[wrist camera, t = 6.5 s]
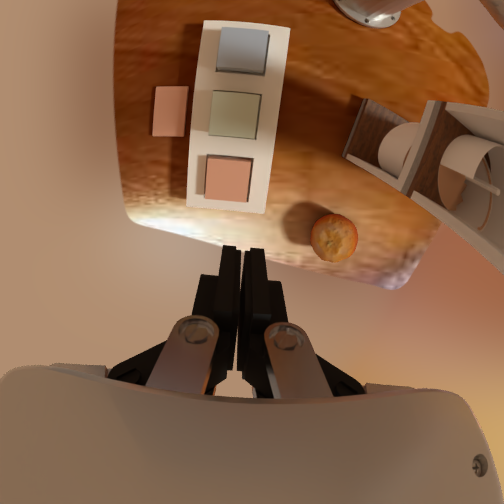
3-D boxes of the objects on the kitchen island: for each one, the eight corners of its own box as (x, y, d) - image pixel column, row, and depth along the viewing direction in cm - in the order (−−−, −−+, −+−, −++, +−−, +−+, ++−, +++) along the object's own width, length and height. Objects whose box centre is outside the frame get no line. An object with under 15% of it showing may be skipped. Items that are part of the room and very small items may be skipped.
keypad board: (207, 26, 30) (204, 20, 27) (287, 33, 31) (290, 28, 28) (190, 199, 44) (186, 206, 41) (263, 206, 45) (264, 213, 42)
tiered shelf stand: (416, 129, 38) (591, 204, 7) (395, 181, 43) (546, 306, 12) (363, 98, 36) (567, 130, 5) (341, 156, 41) (511, 283, 10)
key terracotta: (210, 154, 39) (207, 158, 36) (250, 158, 39) (251, 162, 37) (207, 192, 42) (204, 198, 39) (246, 196, 42) (246, 202, 39)
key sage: (215, 92, 33) (213, 91, 30) (258, 96, 34) (260, 95, 31) (211, 133, 36) (208, 134, 33) (253, 136, 36) (254, 138, 34)
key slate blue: (223, 33, 28) (222, 26, 26) (267, 36, 29) (268, 30, 26) (218, 69, 31) (216, 66, 29) (262, 73, 32) (263, 70, 29)
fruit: (354, 255, 48) (345, 274, 42) (315, 241, 51) (300, 257, 45) (367, 215, 44) (361, 228, 38) (325, 201, 47) (312, 211, 41)
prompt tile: (157, 87, 34) (156, 86, 34) (189, 86, 35) (187, 86, 34) (154, 135, 38) (152, 136, 38) (184, 136, 39) (183, 136, 38)
